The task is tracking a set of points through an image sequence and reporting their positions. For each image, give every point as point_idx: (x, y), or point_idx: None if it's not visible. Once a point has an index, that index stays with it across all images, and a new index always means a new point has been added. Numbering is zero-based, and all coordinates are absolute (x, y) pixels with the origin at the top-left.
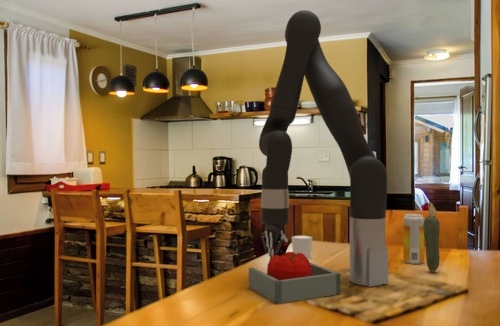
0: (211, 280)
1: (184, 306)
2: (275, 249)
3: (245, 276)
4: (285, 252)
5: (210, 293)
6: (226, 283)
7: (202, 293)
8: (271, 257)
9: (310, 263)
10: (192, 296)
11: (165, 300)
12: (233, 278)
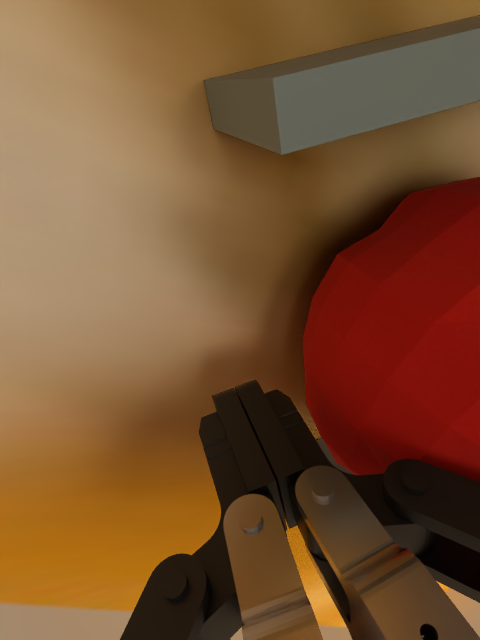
0: (119, 605)
1: None
2: (258, 583)
3: (38, 506)
4: (470, 481)
5: (309, 560)
6: (186, 550)
7: (300, 577)
8: (291, 526)
9: (412, 77)
10: (320, 588)
11: (328, 621)
12: (87, 546)
